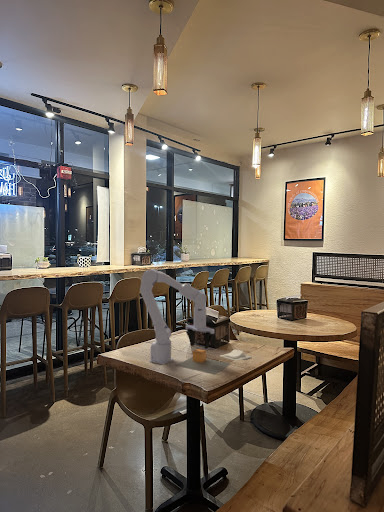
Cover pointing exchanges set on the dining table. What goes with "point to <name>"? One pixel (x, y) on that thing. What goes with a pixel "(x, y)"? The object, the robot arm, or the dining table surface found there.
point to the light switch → (236, 355)
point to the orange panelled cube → (199, 355)
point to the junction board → (204, 365)
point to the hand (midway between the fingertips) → (199, 346)
